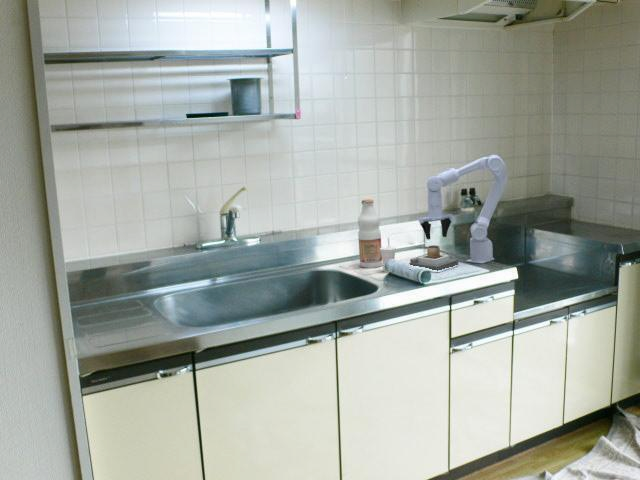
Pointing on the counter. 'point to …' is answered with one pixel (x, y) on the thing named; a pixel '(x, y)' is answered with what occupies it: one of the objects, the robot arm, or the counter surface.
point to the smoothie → (387, 253)
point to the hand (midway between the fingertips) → (436, 238)
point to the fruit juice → (369, 236)
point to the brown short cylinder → (433, 252)
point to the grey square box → (434, 262)
